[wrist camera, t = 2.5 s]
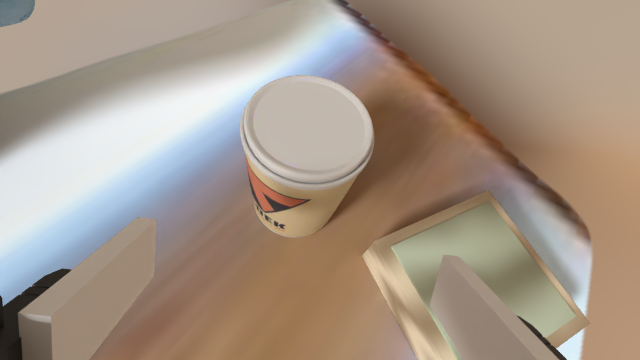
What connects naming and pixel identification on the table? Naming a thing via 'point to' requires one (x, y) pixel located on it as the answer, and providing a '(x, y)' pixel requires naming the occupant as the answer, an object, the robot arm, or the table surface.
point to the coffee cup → (303, 151)
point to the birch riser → (487, 263)
